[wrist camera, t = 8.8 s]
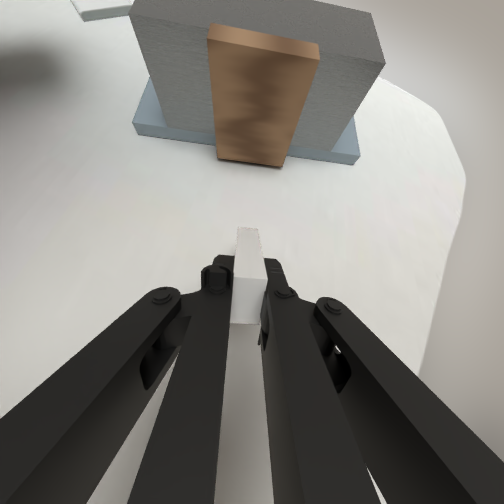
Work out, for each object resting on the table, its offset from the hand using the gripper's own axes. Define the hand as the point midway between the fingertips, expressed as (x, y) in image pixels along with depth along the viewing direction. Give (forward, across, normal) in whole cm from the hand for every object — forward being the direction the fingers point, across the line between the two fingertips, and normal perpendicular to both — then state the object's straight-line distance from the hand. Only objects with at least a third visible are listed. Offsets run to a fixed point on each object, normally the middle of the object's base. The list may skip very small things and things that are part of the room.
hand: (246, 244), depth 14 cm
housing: (+17, 0, +10) cm, 20 cm away
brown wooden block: (+16, 0, +9) cm, 18 cm away
